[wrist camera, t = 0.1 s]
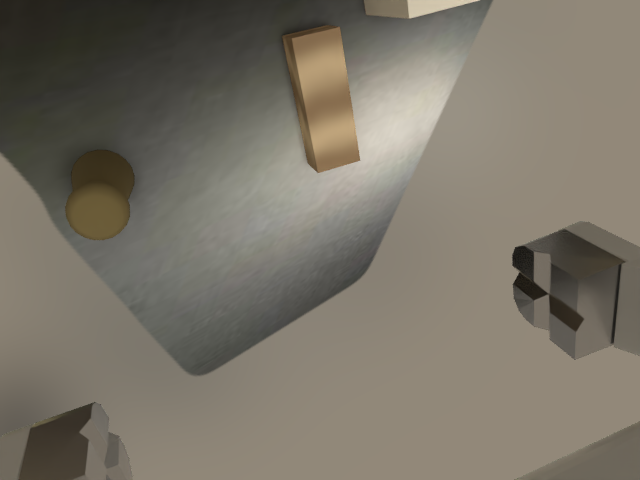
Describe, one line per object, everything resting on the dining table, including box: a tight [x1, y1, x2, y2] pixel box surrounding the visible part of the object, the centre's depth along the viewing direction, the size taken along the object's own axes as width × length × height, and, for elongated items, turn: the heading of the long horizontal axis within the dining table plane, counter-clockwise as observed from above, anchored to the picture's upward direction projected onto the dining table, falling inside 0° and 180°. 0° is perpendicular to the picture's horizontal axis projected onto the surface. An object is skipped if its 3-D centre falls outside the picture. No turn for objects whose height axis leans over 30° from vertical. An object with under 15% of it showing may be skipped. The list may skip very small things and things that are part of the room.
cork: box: [65, 150, 134, 240], centre depth 49 cm, size 6×6×11 cm
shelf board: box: [282, 25, 360, 173], centre depth 56 cm, size 14×5×4 cm, turn 11°
